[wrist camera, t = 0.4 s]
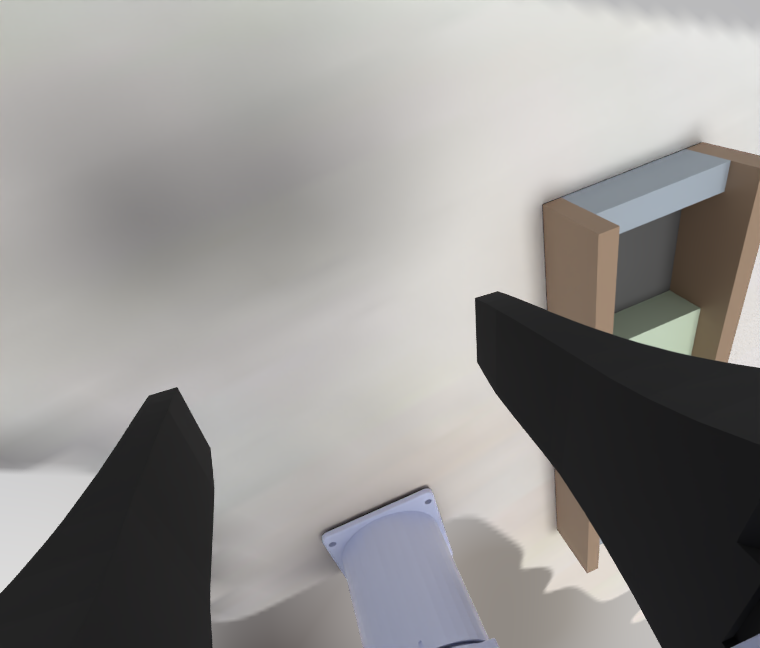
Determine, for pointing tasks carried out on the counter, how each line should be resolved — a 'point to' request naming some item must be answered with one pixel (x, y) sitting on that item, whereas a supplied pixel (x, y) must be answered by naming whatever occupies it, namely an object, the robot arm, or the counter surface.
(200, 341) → the counter surface
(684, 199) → the trap track
